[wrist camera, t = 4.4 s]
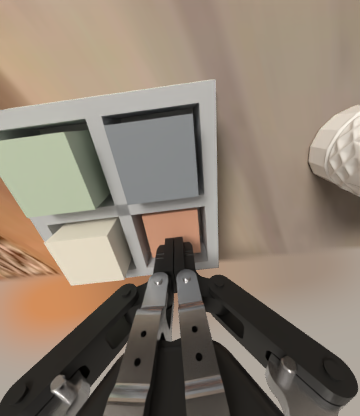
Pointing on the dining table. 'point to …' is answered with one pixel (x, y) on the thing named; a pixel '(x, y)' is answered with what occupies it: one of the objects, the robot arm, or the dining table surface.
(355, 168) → the white cup
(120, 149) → the key slate
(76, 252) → the key cream
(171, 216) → the key terracotta
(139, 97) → the keypad
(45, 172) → the key sage
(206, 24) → the dining table surface
